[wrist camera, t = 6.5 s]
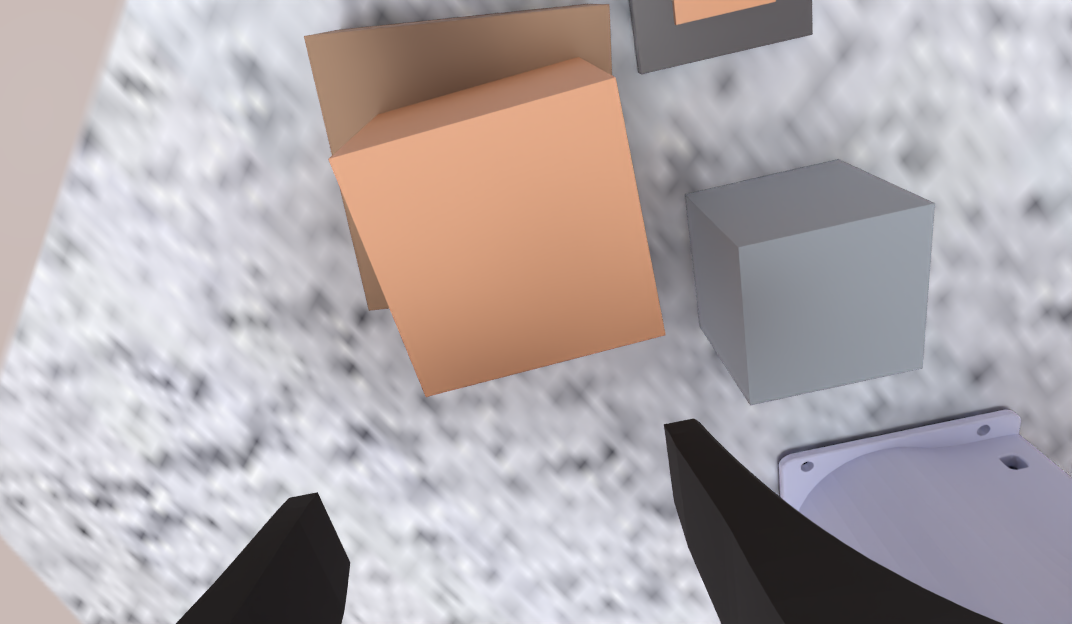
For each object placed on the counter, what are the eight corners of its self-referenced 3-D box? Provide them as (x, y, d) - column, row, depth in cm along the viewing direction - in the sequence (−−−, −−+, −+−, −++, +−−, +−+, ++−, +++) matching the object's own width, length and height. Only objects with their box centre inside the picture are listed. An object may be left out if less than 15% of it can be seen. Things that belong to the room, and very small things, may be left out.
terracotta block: (578, 56, 15) (615, 77, 10) (620, 248, 17) (665, 335, 13) (377, 114, 15) (328, 159, 11) (443, 296, 17) (426, 396, 13)
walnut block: (586, 3, 18) (609, 4, 14) (597, 235, 21) (619, 282, 18) (341, 29, 18) (303, 36, 14) (389, 258, 21) (368, 310, 17)
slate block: (837, 158, 20) (934, 203, 16) (836, 295, 22) (922, 368, 18) (684, 193, 20) (738, 247, 16) (699, 325, 23) (749, 405, 18)
